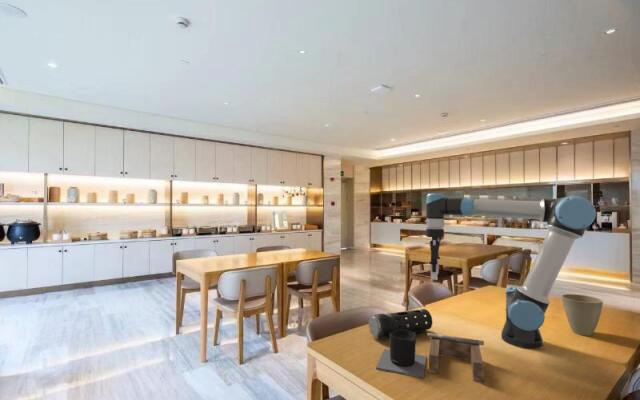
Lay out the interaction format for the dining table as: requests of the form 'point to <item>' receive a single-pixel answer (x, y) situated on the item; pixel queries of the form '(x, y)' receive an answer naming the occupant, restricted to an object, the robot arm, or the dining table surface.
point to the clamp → (456, 352)
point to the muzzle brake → (400, 322)
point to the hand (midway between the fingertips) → (434, 276)
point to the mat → (413, 370)
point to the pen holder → (402, 347)
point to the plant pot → (582, 312)
